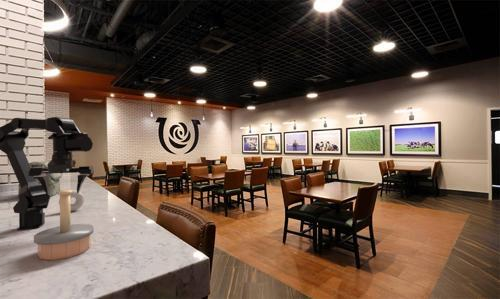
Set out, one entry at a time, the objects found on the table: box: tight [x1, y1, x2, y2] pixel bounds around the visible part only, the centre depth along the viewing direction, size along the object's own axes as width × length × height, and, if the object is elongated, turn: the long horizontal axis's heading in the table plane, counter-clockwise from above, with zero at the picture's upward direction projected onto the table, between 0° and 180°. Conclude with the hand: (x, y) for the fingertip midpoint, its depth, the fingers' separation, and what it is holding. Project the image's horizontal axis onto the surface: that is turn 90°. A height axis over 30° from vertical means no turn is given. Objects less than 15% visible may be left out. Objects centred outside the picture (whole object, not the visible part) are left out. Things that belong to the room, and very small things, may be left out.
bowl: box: [37, 234, 92, 261], centre depth 73 cm, size 12×12×4 cm
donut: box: [58, 189, 85, 212], centre depth 119 cm, size 10×4×10 cm, turn 134°
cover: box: [33, 189, 95, 245], centre depth 73 cm, size 14×14×13 cm
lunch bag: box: [17, 160, 63, 197], centre depth 160 cm, size 26×18×22 cm
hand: (63, 194), depth 93 cm, fingers open, 9 cm apart
